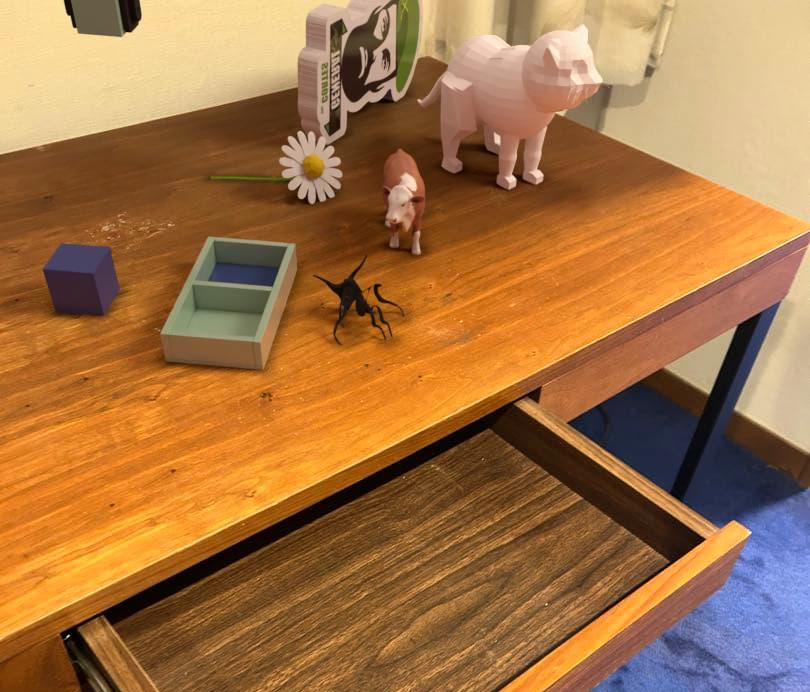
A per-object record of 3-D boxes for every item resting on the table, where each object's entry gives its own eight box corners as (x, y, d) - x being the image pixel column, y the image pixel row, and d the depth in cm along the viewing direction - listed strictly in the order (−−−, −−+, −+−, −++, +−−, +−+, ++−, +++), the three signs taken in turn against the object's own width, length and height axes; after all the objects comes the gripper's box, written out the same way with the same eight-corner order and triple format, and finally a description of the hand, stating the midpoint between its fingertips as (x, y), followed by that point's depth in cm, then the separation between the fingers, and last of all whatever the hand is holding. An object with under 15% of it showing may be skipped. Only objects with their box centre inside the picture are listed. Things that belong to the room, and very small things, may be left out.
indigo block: (55, 314, 79) (41, 268, 75) (73, 287, 82) (60, 242, 78) (104, 318, 79) (93, 273, 75) (120, 291, 82) (110, 246, 78)
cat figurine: (385, 149, 104) (388, -7, 92) (442, 125, 110) (452, -25, 97) (549, 223, 93) (578, 57, 81) (603, 193, 99) (638, 33, 86)
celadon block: (77, 33, 87) (66, -19, 84) (92, 19, 90) (82, -32, 87) (122, 37, 87) (113, -15, 84) (135, 23, 90) (127, -28, 87)
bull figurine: (379, 274, 85) (380, 195, 79) (382, 209, 94) (384, 133, 88) (423, 275, 85) (427, 196, 79) (422, 210, 94) (426, 135, 88)
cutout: (310, 28, 93) (423, -45, 106) (289, 23, 93) (404, -49, 107) (321, 163, 105) (422, 82, 118) (302, 157, 105) (404, 78, 119)
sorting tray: (166, 363, 74) (159, 333, 72) (212, 265, 85) (208, 236, 83) (263, 372, 74) (260, 342, 72) (297, 272, 85) (295, 243, 83)
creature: (418, 337, 80) (367, 284, 83) (430, 293, 76) (375, 239, 78) (352, 368, 77) (300, 312, 79) (360, 324, 72) (305, 266, 75)
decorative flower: (200, 121, 91) (341, 124, 92) (210, 144, 97) (343, 147, 98) (201, 196, 91) (341, 199, 92) (211, 214, 98) (343, 216, 98)
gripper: (169, -204, 78) (196, 21, 91) (-14, -218, 78) (39, 8, 91) (146, -192, 73) (178, 45, 86) (-50, -207, 73) (12, 31, 86)
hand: (106, 24), depth 89 cm, fingers closed on celadon block, 4 cm apart
